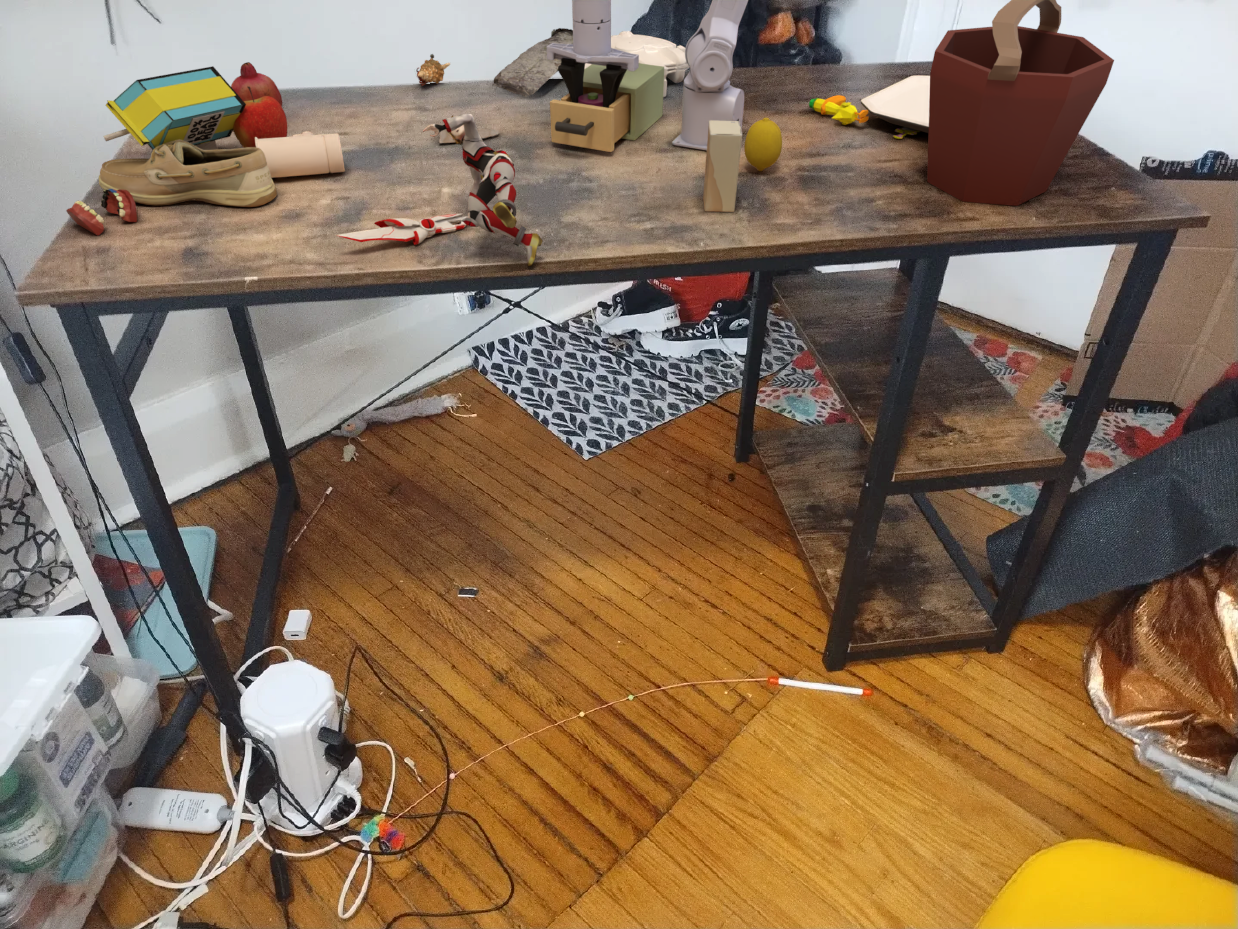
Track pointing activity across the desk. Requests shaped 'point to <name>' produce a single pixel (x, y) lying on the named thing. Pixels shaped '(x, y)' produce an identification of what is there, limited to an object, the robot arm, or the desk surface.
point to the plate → (903, 103)
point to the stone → (532, 66)
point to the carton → (177, 108)
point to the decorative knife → (905, 132)
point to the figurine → (431, 71)
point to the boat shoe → (193, 176)
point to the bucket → (1009, 104)
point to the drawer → (590, 121)
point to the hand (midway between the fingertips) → (592, 112)
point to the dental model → (113, 203)
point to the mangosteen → (591, 99)
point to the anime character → (489, 180)
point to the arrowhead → (483, 133)
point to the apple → (260, 121)
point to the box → (722, 165)
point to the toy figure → (838, 109)
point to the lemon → (763, 144)
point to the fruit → (255, 85)
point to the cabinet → (636, 94)
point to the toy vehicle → (653, 54)
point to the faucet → (302, 154)
